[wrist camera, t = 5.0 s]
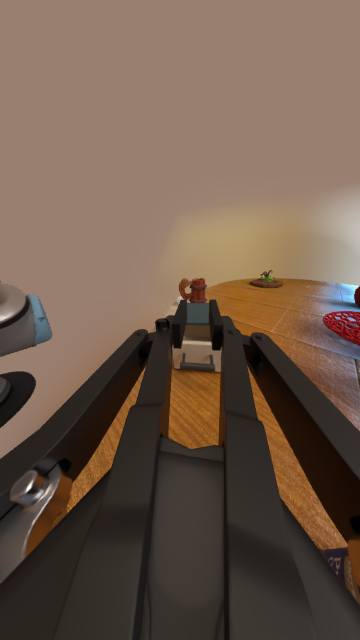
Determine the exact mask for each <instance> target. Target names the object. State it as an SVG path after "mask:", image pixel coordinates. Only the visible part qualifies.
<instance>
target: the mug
mask: <svg viewBox="0 0 360 640" xmlns="http://www.w3.org/2000/svg"><path fill="white" fill-rule="evenodd" d="M189 285H191V286H190V288H191V289H192V292H191V293H190V294H186V293H185V290H184V289H185V288H186V287H187V286H189ZM206 287H207V285H206V284H205V279H203V278H200V279H193V280H192V281H189V280H187V279H186V278H185V279H182V281H181V282H180V284H179V291H180V294H181V296H182V298H183V299H184V300H188V299H189V298H190V299H189V301H190V302H191V303H205V302H206V301H207V299H206V298H205V289H206Z"/></svg>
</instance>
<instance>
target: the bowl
mask: <svg viewBox="0 0 360 640" xmlns="http://www.w3.org/2000/svg"><path fill="white" fill-rule="evenodd" d="M339 313H341V315H336V314H339ZM343 313H346V314H347V315H348V316H346V315H344V314H343ZM349 313H351V314H353V315H351V314H349ZM333 314H334V315H333ZM329 315H331V316H332V317H330V316H329ZM326 316H327V317H328V318H329V319H327V318H326ZM335 316H336V317H340V318H341V319H342V320H337V319H336V318H335ZM342 316H344V317H346V318H343V317H342ZM347 317H351V318H353V319H355V320H356V321H350V320H349V319H347ZM332 318H333V319H334V320H333V319H332ZM326 320H327V321H326ZM330 320H331V321H330ZM343 320H346V321H347V323H346V322H344V321H343ZM359 321H360V312H354V311H339V312H332V313H329V314H326V315H325V316H324V317H323V322H324V324H325V325H326V326H327V327H328V328H329V329H330V330H332V331H333V332H335V333H336V334H338V335H339V336H341V337H343V338H345V339H347V340H349V341H351V342H353V343H355V344H357V345H359V346H360V322H359ZM329 322H330V323H329ZM339 322H341V323H343V324H344V325H342V324H341V323H339ZM326 323H327V324H326ZM350 323H352V324H357V325H358V326H359V327H355V326H352V325H350ZM336 324H338V325H339V326H340V327H339V326H337V325H336ZM330 325H331V326H330ZM345 326H347V327H349V328H351V329H348V328H346V327H345ZM337 328H338V329H337ZM339 329H340V330H339Z"/></svg>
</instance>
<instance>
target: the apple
mask: <svg viewBox="0 0 360 640" xmlns="http://www.w3.org/2000/svg"><path fill="white" fill-rule="evenodd" d="M354 299H355V303H356V304H357V305H358V306H359V307H360V286H359V287H358V288H357V289H356V291H355V294H354Z"/></svg>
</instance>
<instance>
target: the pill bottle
mask: <svg viewBox="0 0 360 640" xmlns="http://www.w3.org/2000/svg"><path fill="white" fill-rule="evenodd" d="M321 553H322V554H323V556H324V557H325V558H326V560H327V561H328V563H329V564H330V565H331V567H332V568H333V569H334V571H335V572H336V573H337V575H338V576H339V577H340V579H341V580H342V581H343V583H344V584H345V586H346V587H347V588H348V590H349V591H350V592H351V594H352V595H353V596H354V598H355V599H356V600H357V602H358V603H359V604H360V587H359V585H358V584H357V582H356V580H355V578H354V576H353V573H352V570H351V565H350V563H351V562H350V558H349V554H348V547H344V548H337V549H330V550H324V551H321Z"/></svg>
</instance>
